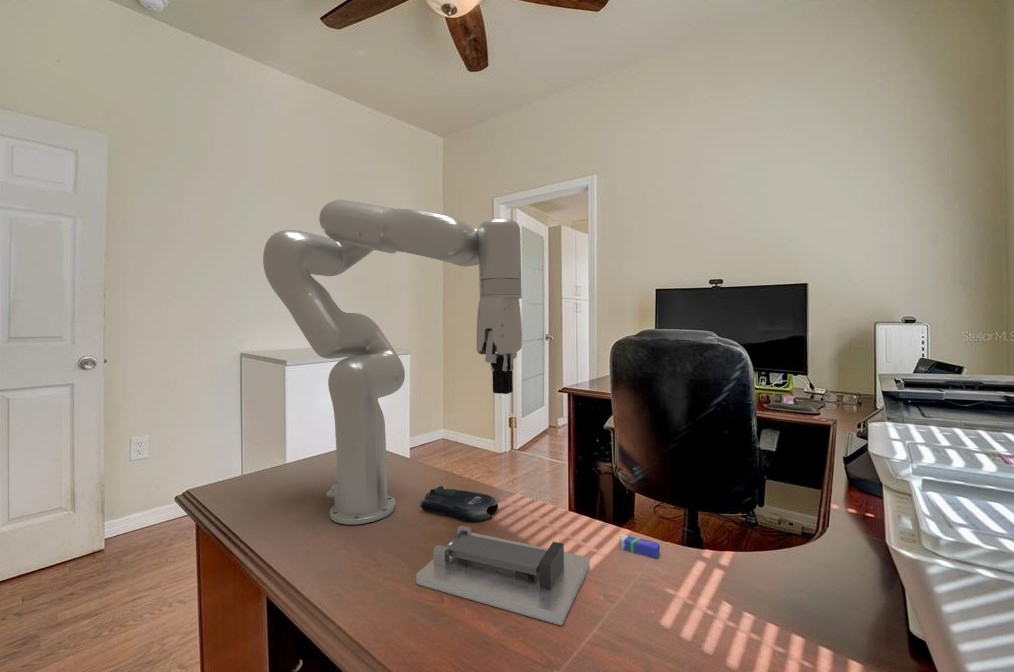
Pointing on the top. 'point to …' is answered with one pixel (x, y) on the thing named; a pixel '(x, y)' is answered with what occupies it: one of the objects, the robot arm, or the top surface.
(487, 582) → the mounting plate
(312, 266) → the robot arm
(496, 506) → the electronic device
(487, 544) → the retention lever
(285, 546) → the top surface
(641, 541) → the eraser
